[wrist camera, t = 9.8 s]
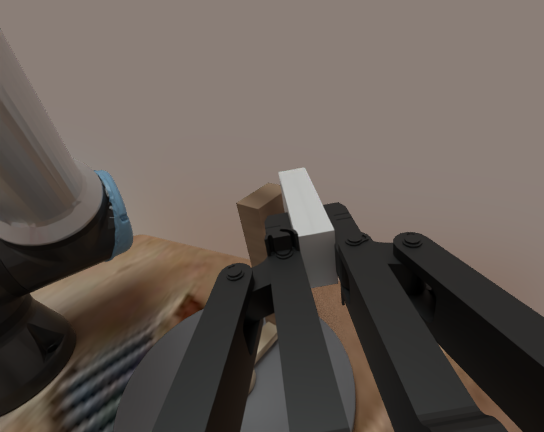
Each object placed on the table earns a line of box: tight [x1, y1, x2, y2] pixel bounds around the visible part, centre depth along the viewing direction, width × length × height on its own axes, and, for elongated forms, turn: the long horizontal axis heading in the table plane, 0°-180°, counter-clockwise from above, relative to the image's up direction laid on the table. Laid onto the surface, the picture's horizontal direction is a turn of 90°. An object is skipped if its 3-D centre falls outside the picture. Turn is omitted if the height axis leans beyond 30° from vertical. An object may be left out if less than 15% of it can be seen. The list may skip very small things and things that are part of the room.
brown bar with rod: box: [236, 183, 285, 394], centre depth 31 cm, size 24×5×18 cm, turn 140°
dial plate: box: [113, 309, 356, 432], centre depth 36 cm, size 26×26×2 cm
